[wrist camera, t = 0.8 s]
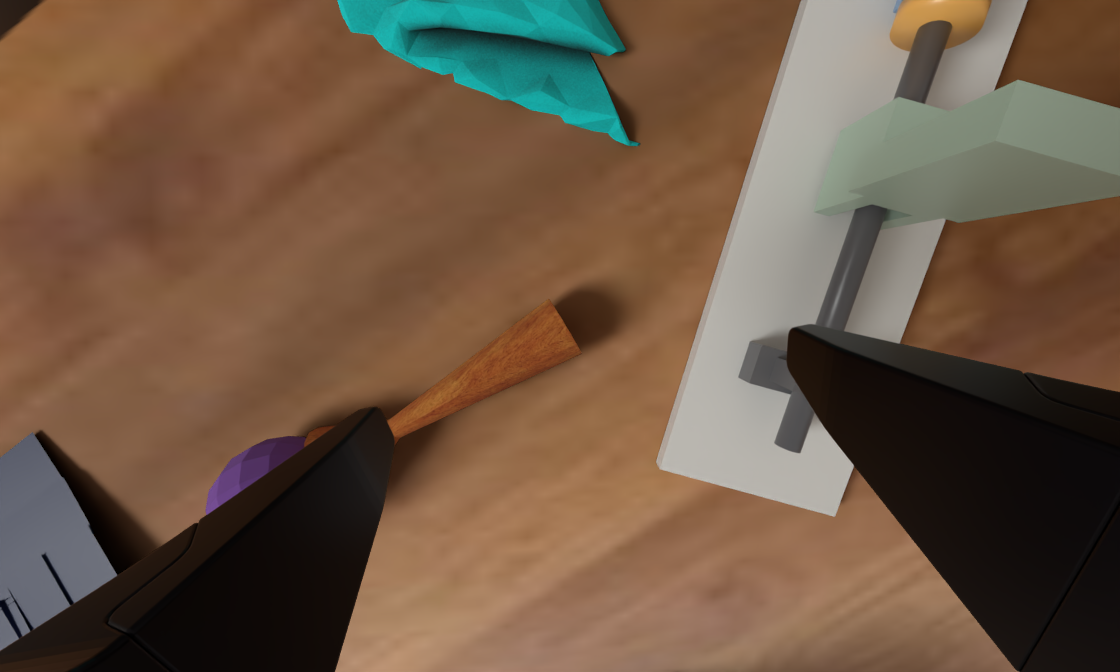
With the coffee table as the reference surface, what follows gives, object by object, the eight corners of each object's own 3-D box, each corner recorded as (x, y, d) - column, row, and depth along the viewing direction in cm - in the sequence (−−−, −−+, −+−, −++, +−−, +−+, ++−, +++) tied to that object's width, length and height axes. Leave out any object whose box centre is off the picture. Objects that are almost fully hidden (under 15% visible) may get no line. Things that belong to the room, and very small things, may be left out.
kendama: (606, 392, 20) (238, 613, 20) (581, 356, 25) (297, 527, 25) (541, 282, 18) (140, 523, 18) (530, 271, 24) (227, 453, 24)
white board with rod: (823, 507, 24) (883, 558, 19) (655, 461, 24) (676, 502, 19) (1029, -50, 21) (1161, -147, 16) (834, -106, 20) (910, -219, 16)
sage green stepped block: (892, 234, 21) (1163, 188, 11) (799, 208, 21) (995, 140, 11) (921, 153, 20) (1230, 34, 11) (827, 126, 20) (1054, -16, 11)
